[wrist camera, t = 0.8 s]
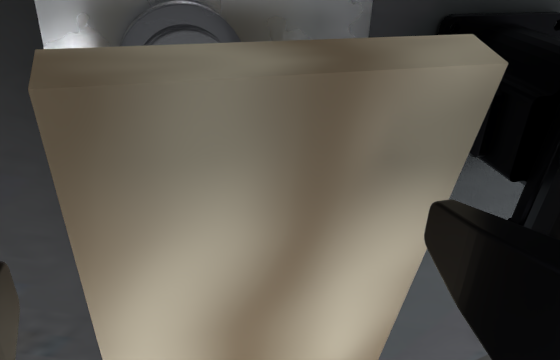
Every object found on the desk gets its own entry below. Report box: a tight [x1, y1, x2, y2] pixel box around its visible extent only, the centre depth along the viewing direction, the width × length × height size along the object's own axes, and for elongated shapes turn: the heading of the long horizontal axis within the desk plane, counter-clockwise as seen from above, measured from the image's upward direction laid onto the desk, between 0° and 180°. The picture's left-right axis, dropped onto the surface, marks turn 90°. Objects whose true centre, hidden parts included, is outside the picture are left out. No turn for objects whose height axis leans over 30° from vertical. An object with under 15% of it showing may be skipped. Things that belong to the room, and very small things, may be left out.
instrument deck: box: [28, 34, 508, 360], centre depth 17 cm, size 10×22×3 cm, turn 178°
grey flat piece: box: [34, 0, 373, 49], centre depth 22 cm, size 12×25×4 cm, turn 178°
